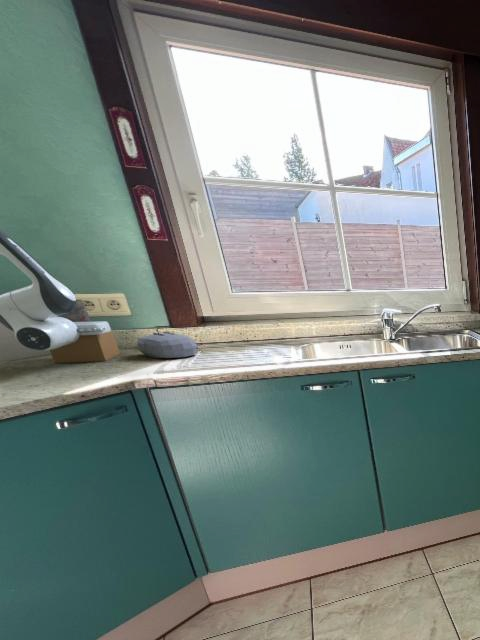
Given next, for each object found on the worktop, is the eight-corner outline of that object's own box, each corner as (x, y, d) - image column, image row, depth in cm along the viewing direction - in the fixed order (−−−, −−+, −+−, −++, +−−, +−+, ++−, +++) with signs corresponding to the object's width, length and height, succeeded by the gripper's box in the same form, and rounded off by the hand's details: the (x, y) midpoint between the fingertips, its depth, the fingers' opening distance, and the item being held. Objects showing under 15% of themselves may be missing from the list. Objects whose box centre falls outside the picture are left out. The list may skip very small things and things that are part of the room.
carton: (54, 363, 166) (43, 335, 163) (72, 356, 177) (62, 329, 174) (105, 360, 172) (96, 333, 168) (120, 353, 183) (111, 328, 179)
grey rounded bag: (133, 355, 180) (163, 362, 172) (125, 332, 177) (155, 338, 169) (180, 349, 193) (210, 355, 185) (173, 328, 190) (204, 332, 182)
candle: (89, 354, 178) (68, 297, 170) (109, 355, 178) (89, 297, 170) (67, 358, 171) (44, 299, 163) (88, 359, 171) (66, 299, 163)
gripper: (97, 320, 162) (114, 315, 174) (11, 322, 154) (35, 316, 166) (104, 339, 165) (120, 333, 176) (20, 342, 156) (42, 335, 168)
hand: (78, 325), depth 171 cm, fingers closed on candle, 7 cm apart
